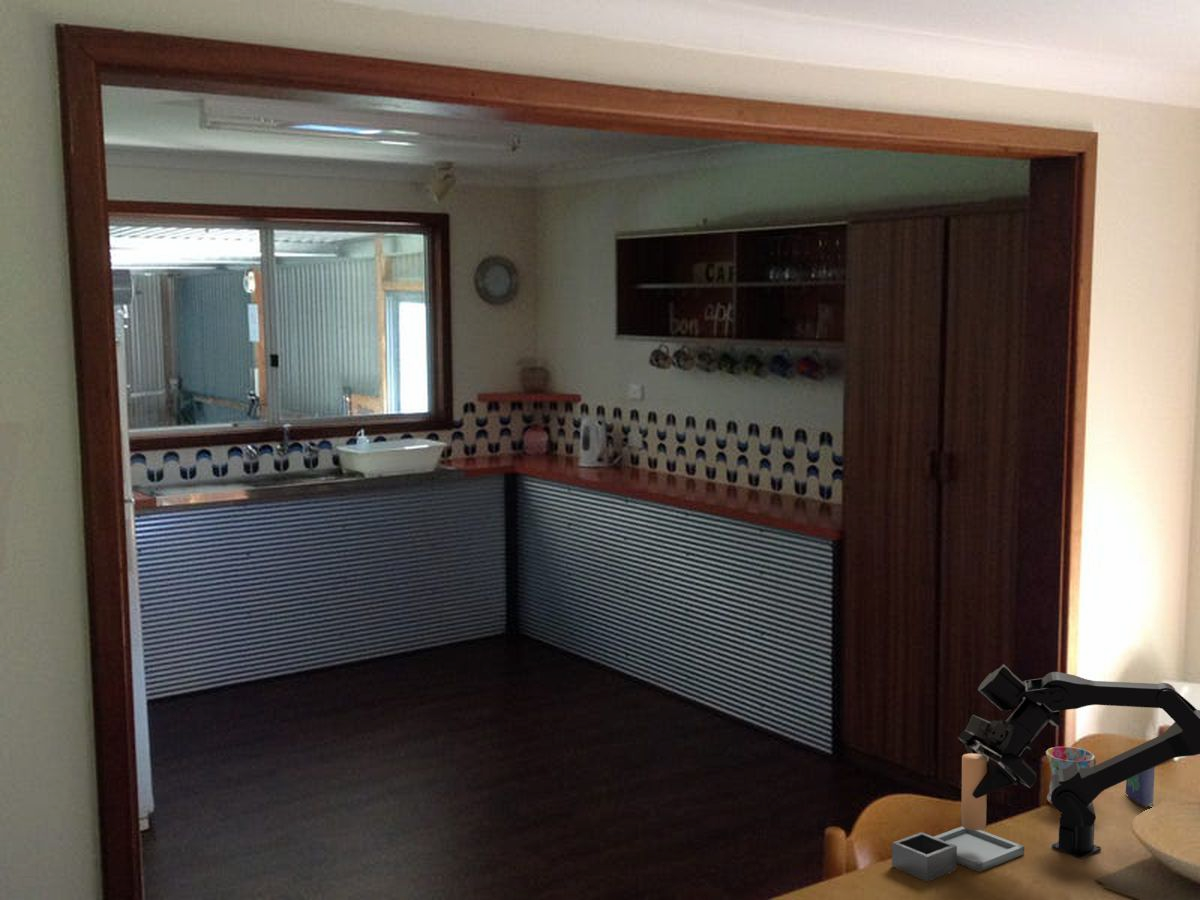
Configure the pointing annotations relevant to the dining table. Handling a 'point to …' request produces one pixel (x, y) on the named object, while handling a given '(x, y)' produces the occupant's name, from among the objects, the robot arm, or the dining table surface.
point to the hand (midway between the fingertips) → (967, 792)
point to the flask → (1141, 788)
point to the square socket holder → (924, 856)
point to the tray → (981, 848)
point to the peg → (971, 777)
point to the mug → (1068, 759)
